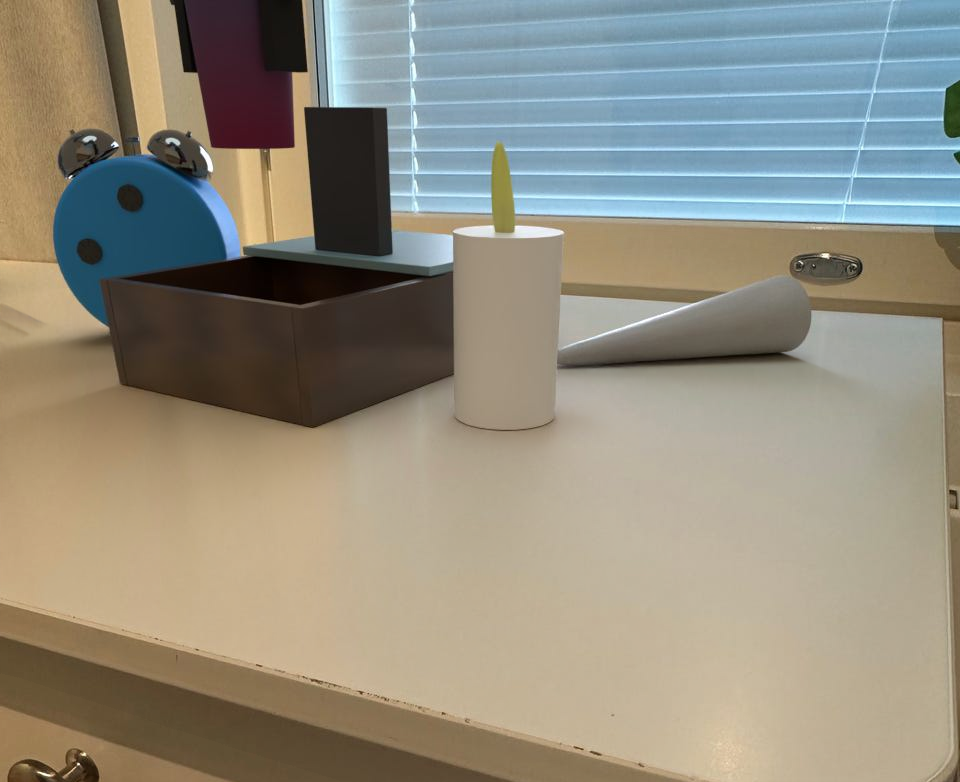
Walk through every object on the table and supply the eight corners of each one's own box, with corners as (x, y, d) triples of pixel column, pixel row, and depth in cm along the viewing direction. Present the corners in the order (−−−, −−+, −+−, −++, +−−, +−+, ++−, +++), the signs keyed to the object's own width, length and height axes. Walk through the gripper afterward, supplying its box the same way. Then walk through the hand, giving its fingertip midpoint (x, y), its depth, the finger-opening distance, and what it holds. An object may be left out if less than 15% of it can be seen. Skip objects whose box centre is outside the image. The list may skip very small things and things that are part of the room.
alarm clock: (251, 329, 76) (227, 128, 69) (237, 345, 71) (209, 130, 63) (97, 328, 76) (56, 127, 68) (72, 345, 71) (24, 128, 63)
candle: (577, 414, 56) (595, 141, 48) (505, 436, 52) (511, 143, 44) (505, 394, 59) (511, 138, 52) (433, 413, 56) (428, 139, 48)
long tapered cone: (588, 323, 60) (813, 275, 65) (544, 317, 65) (755, 274, 71) (595, 408, 62) (810, 355, 68) (552, 396, 68) (755, 348, 73)
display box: (119, 383, 61) (98, 278, 57) (378, 315, 82) (374, 235, 78) (312, 427, 53) (301, 308, 49) (544, 339, 74) (548, 251, 70)
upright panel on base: (243, 254, 67) (225, 106, 62) (369, 235, 78) (363, 107, 73) (429, 276, 59) (426, 107, 54) (541, 251, 70) (546, 109, 65)
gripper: (-21, -508, 42) (87, 72, 54) (274, -666, 33) (325, 67, 45) (112, -436, 47) (183, 76, 59) (395, -556, 39) (412, 72, 51)
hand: (244, 71), depth 52 cm, fingers closed on cup, 6 cm apart
